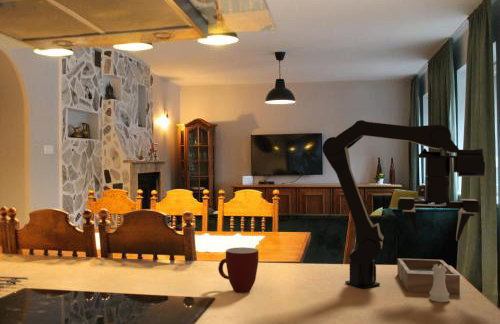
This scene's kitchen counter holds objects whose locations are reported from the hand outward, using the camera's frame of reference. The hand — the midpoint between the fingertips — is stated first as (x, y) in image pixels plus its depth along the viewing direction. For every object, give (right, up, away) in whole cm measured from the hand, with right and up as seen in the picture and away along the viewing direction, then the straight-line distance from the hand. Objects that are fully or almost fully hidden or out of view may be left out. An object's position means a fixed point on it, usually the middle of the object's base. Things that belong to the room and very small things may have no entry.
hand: (437, 239), depth 115 cm
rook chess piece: (-3, -13, -8) cm, 15 cm away
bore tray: (0, -13, +7) cm, 14 cm away
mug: (-49, -13, 0) cm, 51 cm away
